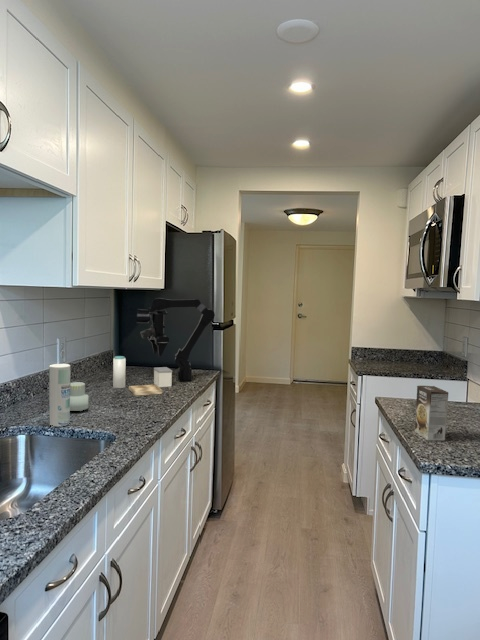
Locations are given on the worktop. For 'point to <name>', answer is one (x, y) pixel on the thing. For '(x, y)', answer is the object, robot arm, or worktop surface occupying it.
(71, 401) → the air freshener
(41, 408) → the worktop surface
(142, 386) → the refill tray
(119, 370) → the cartridge
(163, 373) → the box
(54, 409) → the spray can
